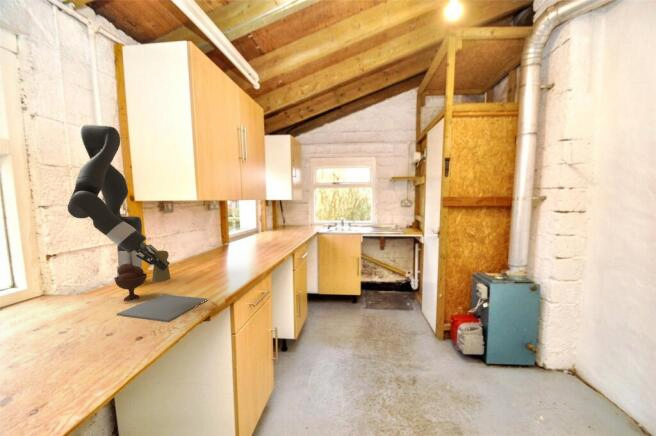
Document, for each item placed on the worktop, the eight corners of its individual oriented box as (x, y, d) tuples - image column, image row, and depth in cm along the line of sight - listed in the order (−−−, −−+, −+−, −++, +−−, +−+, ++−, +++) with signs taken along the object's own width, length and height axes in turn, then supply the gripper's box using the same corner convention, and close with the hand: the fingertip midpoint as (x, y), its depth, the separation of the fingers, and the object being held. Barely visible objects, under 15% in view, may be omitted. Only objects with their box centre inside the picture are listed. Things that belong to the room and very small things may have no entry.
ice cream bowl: (131, 304, 103) (129, 267, 102) (108, 302, 105) (106, 265, 104) (153, 295, 114) (152, 261, 113) (132, 293, 116) (131, 259, 115)
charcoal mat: (116, 315, 94) (116, 313, 94) (163, 295, 113) (163, 294, 113) (168, 321, 89) (168, 320, 89) (207, 300, 108) (207, 298, 108)
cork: (168, 276, 104) (167, 248, 103) (172, 279, 99) (171, 250, 99) (150, 279, 99) (149, 250, 99) (153, 283, 95) (152, 253, 94)
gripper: (129, 231, 89) (171, 263, 94) (140, 227, 102) (177, 255, 107) (110, 248, 87) (154, 279, 92) (124, 241, 100) (162, 269, 106)
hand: (166, 266), depth 100 cm, fingers closed on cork, 4 cm apart
